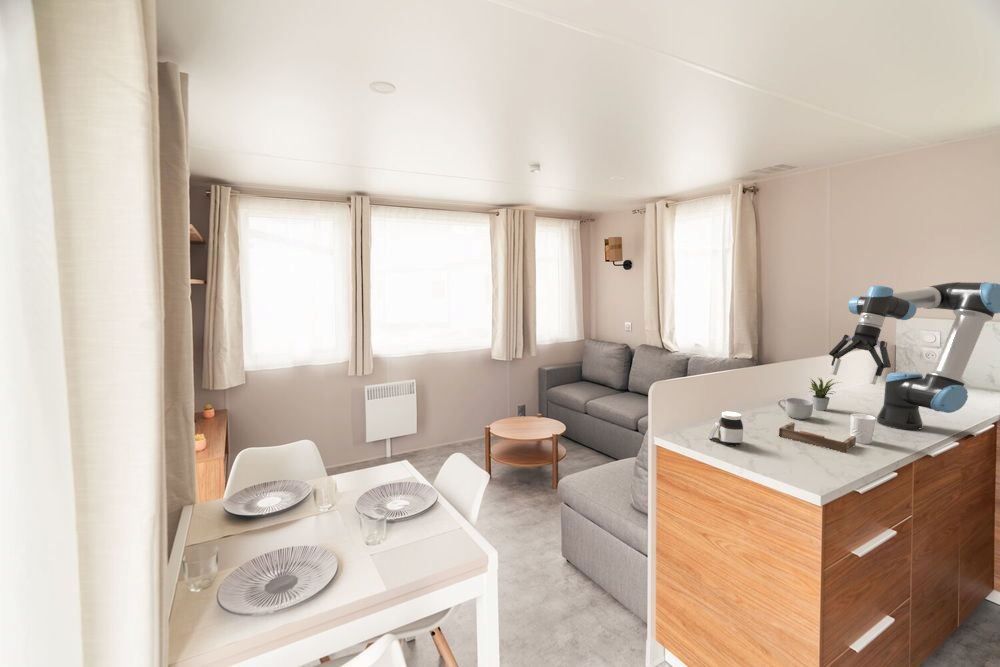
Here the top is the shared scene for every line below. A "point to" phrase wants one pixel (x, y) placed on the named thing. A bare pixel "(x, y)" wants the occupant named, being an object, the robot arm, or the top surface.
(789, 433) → the brown wooden open frame
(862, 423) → the white cup
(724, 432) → the spread jar
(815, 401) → the house plant
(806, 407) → the teacup
